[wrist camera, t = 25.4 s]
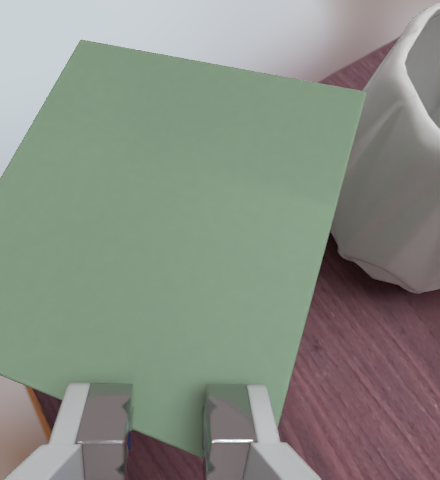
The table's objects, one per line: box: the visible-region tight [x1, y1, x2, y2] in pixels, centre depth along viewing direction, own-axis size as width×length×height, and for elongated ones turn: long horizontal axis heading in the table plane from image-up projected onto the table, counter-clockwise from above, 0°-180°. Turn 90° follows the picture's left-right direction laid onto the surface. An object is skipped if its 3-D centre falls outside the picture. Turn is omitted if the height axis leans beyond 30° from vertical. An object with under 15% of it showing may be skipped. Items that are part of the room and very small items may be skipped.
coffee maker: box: [0, 40, 366, 458], centre depth 21 cm, size 12×11×18 cm
